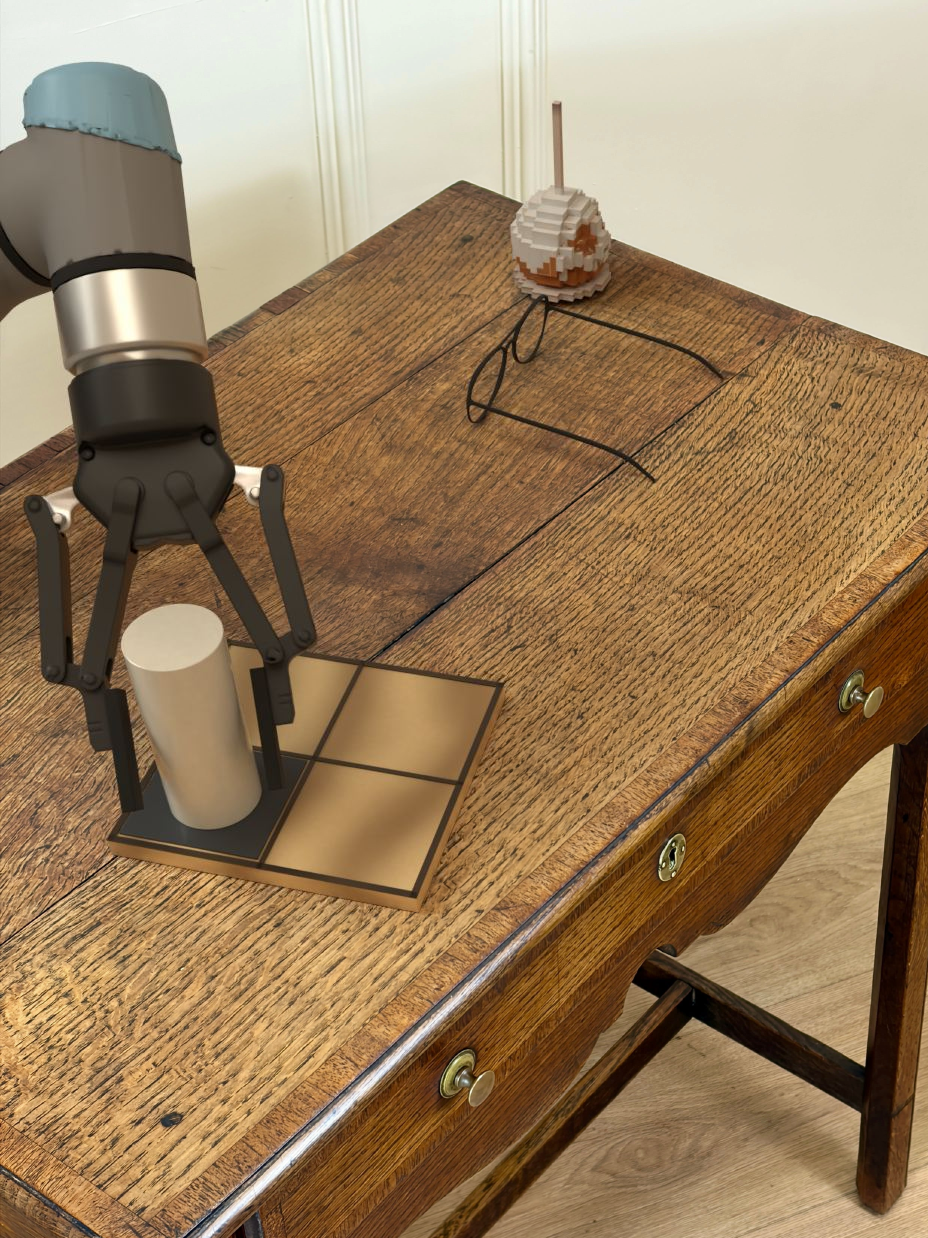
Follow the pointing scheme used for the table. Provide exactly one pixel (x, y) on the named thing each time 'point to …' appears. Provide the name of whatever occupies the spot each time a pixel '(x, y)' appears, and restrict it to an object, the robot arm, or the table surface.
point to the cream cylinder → (193, 714)
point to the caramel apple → (560, 237)
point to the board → (339, 783)
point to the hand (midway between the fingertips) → (205, 799)
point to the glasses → (514, 341)
